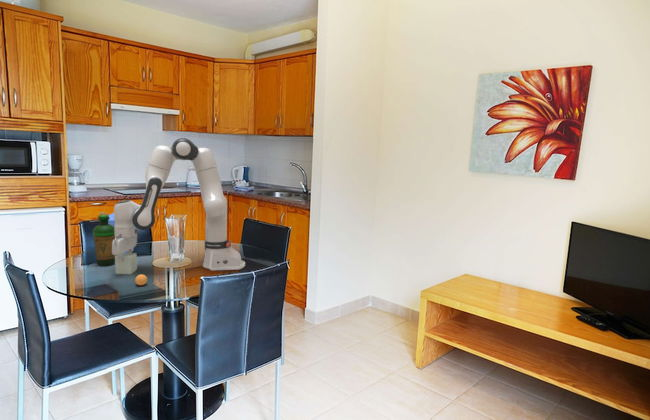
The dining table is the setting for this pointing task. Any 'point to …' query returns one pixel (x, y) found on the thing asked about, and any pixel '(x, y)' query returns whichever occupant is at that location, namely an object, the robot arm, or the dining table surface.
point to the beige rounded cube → (126, 263)
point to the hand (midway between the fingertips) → (125, 259)
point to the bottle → (104, 241)
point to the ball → (141, 279)
